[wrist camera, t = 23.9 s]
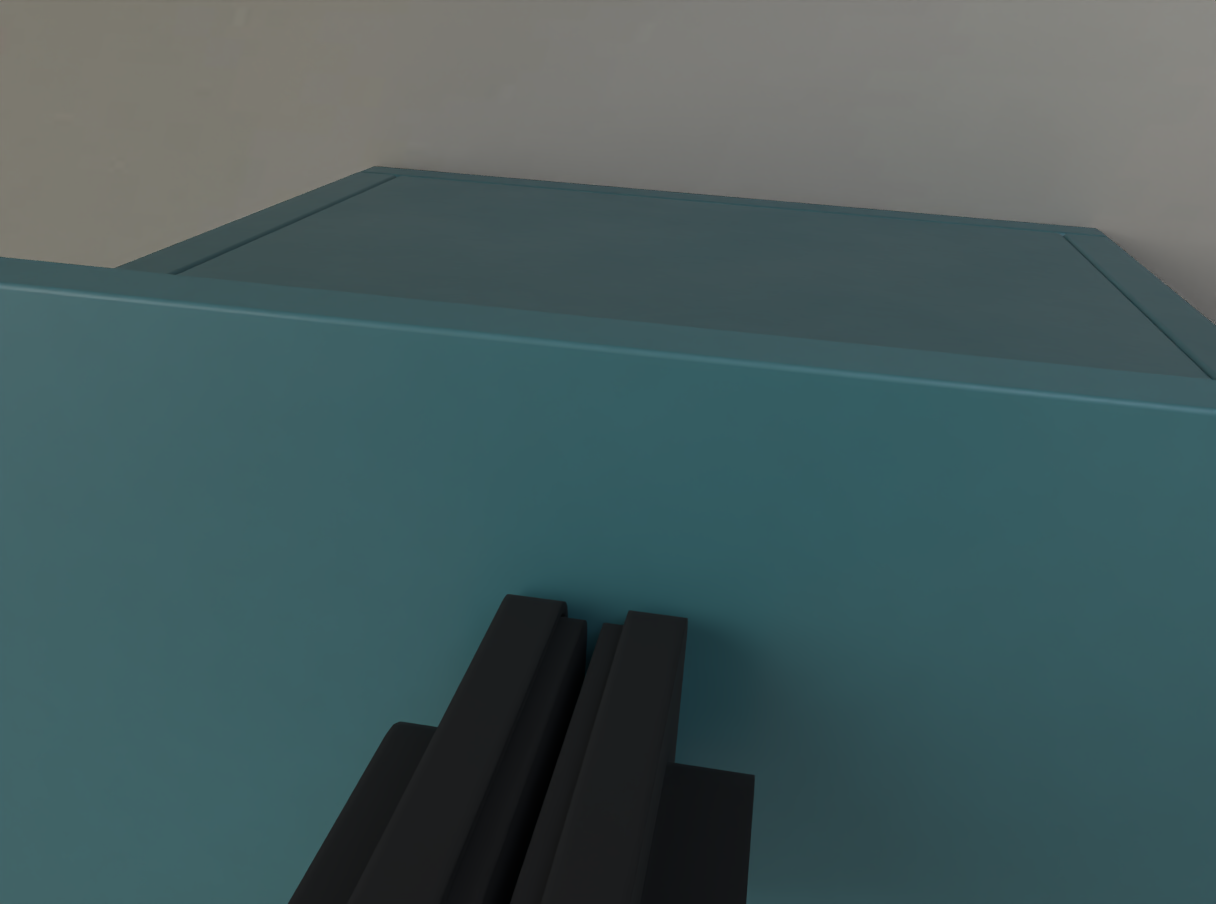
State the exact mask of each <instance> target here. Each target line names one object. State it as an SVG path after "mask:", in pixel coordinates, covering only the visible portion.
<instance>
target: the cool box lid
mask: <svg viewBox="0 0 1216 904" xmlns="http://www.w3.org/2000/svg"><path fill="white" fill-rule="evenodd" d="M507 594H513V595H521V596H528V597H536V598H543V599H550V600H558V601H565V602H566V604H567V608H568V618H574V619H582V620H586V621H587V648H586V665H585V676H586V673H587V670H588V667H589V664H590V661H591V658H592V655H593V652H594V649H595V646H596V643H597V640H598V637H599V634H600V631H601V628H602V625H603V623H611V624H618V625H624V623H625V620H626V616H627V614H628V611H629V610H632V611H640V612H647V613H655V614H662V615H669V616H677V617H684V618H688V630H687V641H686V651H685V661H684V672H683V682H682V692H681V702H680V713H679V723H678V733H677V743H676V753H675V763H679V764H686V765H692V766H699V767H706V768H712V769H719V770H726V771H732V772H739V773H745V774H752V775H755V787H754V802H753V816H752V829H751V843H750V857H749V871H748V885H747V899H746V904H1216V380H1210V379H1200V378H1190V377H1180V376H1171V375H1161V374H1151V373H1141V372H1131V371H1121V370H1111V369H1101V368H1092V367H1082V366H1072V365H1062V364H1052V363H1042V362H1032V361H1022V360H1013V359H1003V358H993V357H983V356H973V355H963V354H953V353H943V352H933V351H924V350H914V349H904V348H894V347H884V346H874V345H864V344H854V343H845V342H835V341H825V340H815V339H805V338H795V337H785V336H775V335H766V334H756V333H746V332H736V331H726V330H716V329H706V328H696V327H687V326H677V325H667V324H657V323H647V322H637V321H627V320H617V319H608V318H598V317H588V316H578V315H568V314H558V313H548V312H538V311H528V310H519V309H509V308H499V307H489V306H479V305H469V304H459V303H449V302H440V301H430V300H420V299H410V298H400V297H390V296H380V295H370V294H361V293H351V292H341V291H331V290H321V289H311V288H301V287H291V286H282V285H272V284H262V283H252V282H242V281H232V280H222V279H212V278H203V277H193V276H183V275H173V274H163V273H153V272H143V271H133V270H123V269H114V268H104V267H94V266H84V265H74V264H64V263H54V262H44V261H35V260H25V259H15V258H5V257H0V904H288V903H289V901H290V899H291V897H292V896H293V894H294V892H295V890H296V889H297V887H298V885H299V883H300V882H301V880H302V878H303V877H304V875H305V873H306V871H307V870H308V868H309V866H310V864H311V863H312V861H313V859H314V858H315V856H316V854H317V852H318V851H319V849H320V847H321V845H322V844H323V842H324V840H325V838H326V837H327V835H328V833H329V832H330V830H331V828H332V826H333V825H334V823H335V821H336V819H337V818H338V816H339V814H340V813H341V811H342V809H343V807H344V806H345V804H346V802H347V800H348V799H349V797H350V795H351V794H352V792H353V790H354V788H355V787H356V785H357V783H358V781H359V780H360V778H361V776H362V774H363V773H364V771H365V769H366V768H367V766H368V764H369V762H370V761H371V759H372V757H373V755H374V754H375V752H376V750H377V749H378V747H379V745H380V743H381V742H382V740H383V738H384V736H385V735H386V733H387V732H388V731H389V729H390V728H391V727H392V725H393V724H395V723H397V722H400V721H401V722H408V723H415V724H421V725H428V726H434V727H438V725H439V723H440V722H441V720H442V718H443V716H444V714H445V712H446V710H447V708H448V706H449V704H450V702H451V700H452V698H453V696H454V694H455V692H456V690H457V688H458V686H459V684H460V682H461V681H462V679H463V677H464V675H465V673H466V671H467V669H468V667H469V665H470V663H471V661H472V659H473V657H474V655H475V653H476V651H477V649H478V647H479V645H480V643H481V641H482V640H483V638H484V636H485V634H486V632H487V630H488V628H489V626H490V624H491V622H492V620H493V618H494V616H495V614H496V612H497V610H498V608H499V606H500V604H501V602H502V600H503V599H504V597H505V596H506V595H507Z"/></svg>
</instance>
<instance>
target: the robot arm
mask: <svg viewBox="0 0 1216 904" xmlns="http://www.w3.org/2000/svg"><path fill="white" fill-rule="evenodd" d="M687 630H688V618H684V617H677V616H669V615H662V614H655V613H647V612H640V611H632V610H629V611H628V614H627V616H626V620H625V623H624V625H618V624H611V623H603V625H602V628H601V631H600V634H599V637H598V640H597V643H596V646H595V649H594V652H593V655H592V658H591V661H590V664H589V667H588V670H587V673H586V676H585V665H586V648H587V621H586V620H582V619H574V618H568V608H567V604H566V602H565V601H558V600H550V599H543V598H536V597H528V596H521V595H513V594H507V595H506V596H505V597H504V599H503V600H502V602H501V604H500V606H499V608H498V610H497V612H496V614H495V616H494V618H493V620H492V622H491V624H490V626H489V628H488V630H487V632H486V634H485V636H484V638H483V640H482V641H481V643H480V645H479V647H478V649H477V651H476V653H475V655H474V657H473V659H472V661H471V663H470V665H469V667H468V669H467V671H466V673H465V675H464V677H463V679H462V681H461V682H460V684H459V686H458V688H457V690H456V692H455V694H454V696H453V698H452V700H451V702H450V704H449V706H448V708H447V710H446V712H445V714H444V716H443V718H442V720H441V722H440V723H439V725H438V727H434V726H428V725H421V724H415V723H408V722H401V721H400V722H397V723H395V724H393V725H392V727H391V728H390V729H389V731H388V732H387V733H386V735H385V736H384V738H383V740H382V742H381V743H380V745H379V747H378V749H377V750H376V752H375V754H374V755H373V757H372V759H371V761H370V762H369V764H368V766H367V768H366V769H365V771H364V773H363V774H362V776H361V778H360V780H359V781H358V783H357V785H356V787H355V788H354V790H353V792H352V794H351V795H350V797H349V799H348V800H347V802H346V804H345V806H344V807H343V809H342V811H341V813H340V814H339V816H338V818H337V819H336V821H335V823H334V825H333V826H332V828H331V830H330V832H329V833H328V835H327V837H326V838H325V840H324V842H323V844H322V845H321V847H320V849H319V851H318V852H317V854H316V856H315V858H314V859H313V861H312V863H311V864H310V866H309V868H308V870H307V871H306V873H305V875H304V877H303V878H302V880H301V882H300V883H299V885H298V887H297V889H296V890H295V892H294V894H293V896H292V897H291V899H290V901H289V903H288V904H746V899H747V885H748V871H749V857H750V843H751V829H752V816H753V802H754V787H755V775H752V774H745V773H739V772H732V771H726V770H719V769H712V768H706V767H699V766H692V765H686V764H679V763H675V753H676V743H677V733H678V723H679V713H680V702H681V692H682V682H683V672H684V661H685V651H686V641H687Z"/></svg>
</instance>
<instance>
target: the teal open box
mask: <svg viewBox="0 0 1216 904" xmlns="http://www.w3.org/2000/svg"><path fill="white" fill-rule="evenodd" d="M114 269H123V270H133V271H143V272H153V273H163V274H173V275H183V276H193V277H203V278H212V279H222V280H232V281H242V282H252V283H262V284H272V285H282V286H291V287H301V288H311V289H321V290H331V291H341V292H351V293H361V294H370V295H380V296H390V297H400V298H410V299H420V300H430V301H440V302H449V303H459V304H469V305H479V306H489V307H499V308H509V309H519V310H528V311H538V312H548V313H558V314H568V315H578V316H588V317H598V318H608V319H617V320H627V321H637V322H647V323H657V324H667V325H677V326H687V327H696V328H706V329H716V330H726V331H736V332H746V333H756V334H766V335H775V336H785V337H795V338H805V339H815V340H825V341H835V342H845V343H854V344H864V345H874V346H884V347H894V348H904V349H914V350H924V351H933V352H943V353H953V354H963V355H973V356H983V357H993V358H1003V359H1013V360H1022V361H1032V362H1042V363H1052V364H1062V365H1072V366H1082V367H1092V368H1101V369H1111V370H1121V371H1131V372H1141V373H1151V374H1161V375H1171V376H1180V377H1190V378H1200V379H1210V380H1216V325H1214V324H1213V323H1212V322H1211V321H1210V320H1208V319H1207V318H1206V317H1205V316H1203V315H1202V314H1201V313H1200V312H1199V311H1197V310H1196V309H1195V308H1194V307H1192V306H1191V305H1190V304H1189V303H1188V302H1186V301H1185V300H1184V299H1183V298H1181V297H1180V296H1179V295H1178V294H1177V293H1175V292H1174V291H1173V290H1172V289H1170V288H1169V287H1168V286H1167V285H1166V284H1164V283H1163V282H1162V281H1161V280H1159V279H1158V278H1157V277H1156V276H1155V275H1153V274H1152V273H1151V272H1150V271H1148V270H1147V269H1146V268H1145V267H1144V266H1142V265H1141V264H1140V263H1139V262H1137V261H1136V260H1135V259H1134V258H1133V257H1131V256H1130V255H1129V254H1128V253H1126V252H1125V251H1124V250H1123V249H1122V248H1120V247H1119V246H1118V245H1117V244H1115V243H1114V242H1113V241H1112V240H1111V239H1109V238H1107V236H1106V235H1104V234H1103V233H1102V232H1101V231H1099V230H1098V229H1096V228H1085V227H1073V226H1061V225H1050V224H1038V223H1027V222H1015V221H1003V220H992V219H980V218H969V217H957V216H945V215H934V214H922V213H911V212H899V211H887V210H876V209H864V208H852V207H841V206H829V205H818V204H806V203H794V202H783V201H771V200H760V199H748V198H736V197H725V196H713V195H702V194H690V193H678V192H667V191H655V190H644V189H632V188H620V187H609V186H597V185H585V184H574V183H562V182H551V181H539V180H527V179H516V178H504V177H493V176H481V175H469V174H458V173H446V172H435V171H423V170H411V169H400V168H388V167H376V166H374V167H371V168H369V169H366V170H364V171H361V172H358V173H355V174H353V175H350V176H348V177H345V178H343V179H340V180H338V181H335V182H332V183H330V184H327V185H325V186H322V187H320V188H317V189H315V190H312V191H310V192H307V193H305V194H302V195H299V196H297V197H294V198H292V199H289V200H287V201H284V202H282V203H279V204H277V205H274V206H271V207H269V208H266V209H264V210H261V211H259V212H256V213H254V214H251V215H249V216H246V217H243V218H241V219H238V220H236V221H233V222H231V223H228V224H226V225H223V226H221V227H218V228H215V229H213V230H210V231H208V232H205V233H203V234H200V235H198V236H195V237H193V238H190V239H187V240H185V241H182V242H180V243H177V244H175V245H172V246H170V247H167V248H165V249H162V250H159V251H157V252H154V253H152V254H149V255H147V256H144V257H142V258H139V259H137V260H134V261H132V262H129V263H126V264H124V265H121V266H119V267H116V268H114Z"/></svg>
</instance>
